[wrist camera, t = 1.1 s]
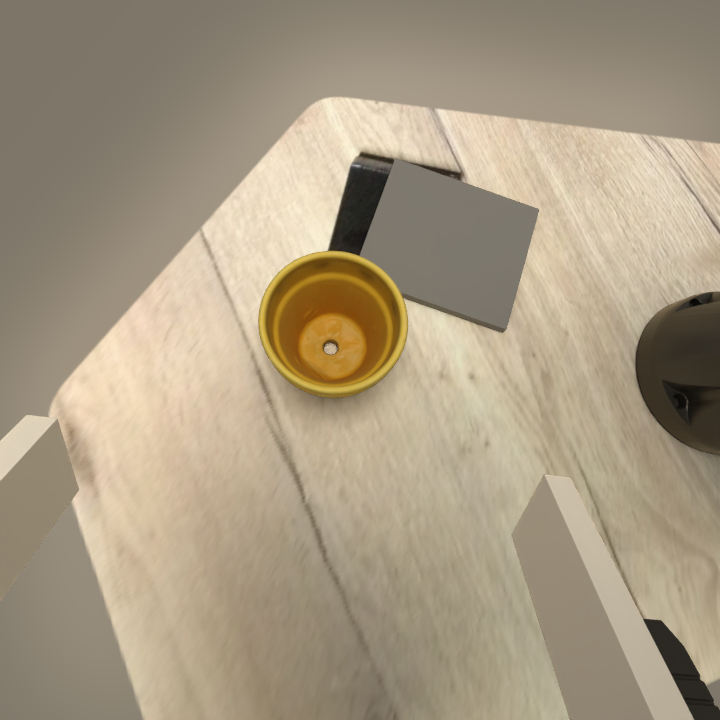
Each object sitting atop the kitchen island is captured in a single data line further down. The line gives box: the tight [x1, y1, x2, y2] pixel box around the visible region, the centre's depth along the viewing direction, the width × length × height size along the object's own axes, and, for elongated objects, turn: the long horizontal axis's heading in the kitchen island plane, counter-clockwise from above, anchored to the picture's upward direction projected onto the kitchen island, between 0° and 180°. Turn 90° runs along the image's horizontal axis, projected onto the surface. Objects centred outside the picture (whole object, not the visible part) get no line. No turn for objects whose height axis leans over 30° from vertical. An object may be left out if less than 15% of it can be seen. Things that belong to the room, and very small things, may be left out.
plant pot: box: [258, 251, 408, 398], centre depth 35 cm, size 10×10×10 cm
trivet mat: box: [360, 158, 539, 332], centre depth 42 cm, size 15×13×1 cm
